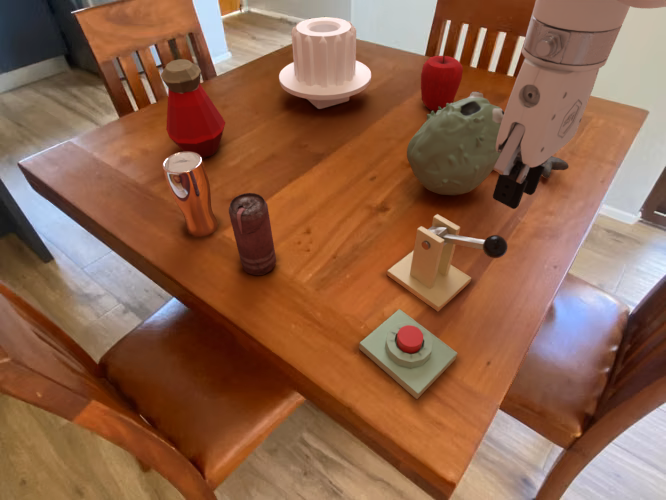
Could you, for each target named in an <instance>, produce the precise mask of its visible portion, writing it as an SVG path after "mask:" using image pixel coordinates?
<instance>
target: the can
mask: <svg viewBox="0 0 666 500" xmlns="http://www.w3.org/2000/svg"><path fill="white" fill-rule="evenodd" d="M228 215H229V220H230V224H231V227H232V231H233V235H234V239H235V243H236V247H237V252H238V256H239V259H240V264H241V267H242V269H243V270H244V272H246V273H248V274H249V275H253V276H263V275H267V274H268V273H269V272H271V271H272V270H273V269H274V267H275V266H276V264H277V257H276V250H275V244H274V238H273V231H272V225H271V219H270V213H269V206H268V203H267V201H266V200H265V199H264V197H263V196H262V195H260V194H258V193H255V192H245V193H241V194H239V195H237V196H234V198H233V199H232V200H231V201H230V203H229V207H228Z"/></svg>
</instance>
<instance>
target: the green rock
mask: <svg viewBox="0 0 666 500" xmlns="http://www.w3.org/2000/svg"><path fill="white" fill-rule="evenodd" d="M438 108H439V110H438V111H436V112H435V111H432V110H430V113H427V114H426V120H425V122H424V123H423V124H421V126H420V128H419V129H418V130H417V131H416V132H415V134H414V135H413V136H412V137H411V139H410V140H409V142H408V144H407V149H406V158H407V161H408V164H409V165H410V169H411V170H412V173H413V175H414V177H415V178H416V179H417V181H418V182H419V183H420V184H421V185H422V186H423V187H424V188H425V189H427V190H428V191H430V192H432V193H434V194H437V195H441V196H459V195H464V194H469V193H470V192H471V191H474V190H475V189H476V188H477V187H479V186H480V185H481V184H482V183H483V182H484V181H485V180H486V179H487V178H488V177H489V176H490V174H491V173H492V172H493V171H494V166H495V164H496V162H497V160H498V158H499V156H500V154H501V153H498V152H497V150H496V141H497V136H498V132H499V129H500V125H501V122H502V119H503V115H504V112H505V110H503V108H502V107H501V106H497V105H494V104H492V103H491V102H490V101H489V99H488V98H485V97H484V93H482V92H480V91H472V92H470V94H469V96H468V97H466V98H462V99H460V100H457V101H453V103H450V104H449V103H447V104H446V107H445V108H443V109H442V108H441V107H438Z"/></svg>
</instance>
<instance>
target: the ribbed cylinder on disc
mask: <svg viewBox="0 0 666 500" xmlns="http://www.w3.org/2000/svg"><path fill="white" fill-rule="evenodd" d="M290 34H291V47H292V57H293V59H292V60H293V62H290V63H289V64H287V65H286V66H284V67H283V68H282V69H281V70H280V72H279V75H278V79H279V80H278V81H279V85H280V86H281V88H282V89H283V90H284V91H285V92H287V93H288V94H290V95H292V96H295V97H297V98H302V99H306V100H307V101H308V102H310V103H311V104H312V105H313V106H314V107H315V108H316V109H318V110H322V109H325V108H329V107H333V106H336V105H339V104H343V103H346V102H349V101H350V97H352V96H356V95H358V94H359V93H361V92H364V90H366V89H367V88H368V87H369V86H370V84H371V83H372V82H371V81H372V72H371V69H370V67H368V66H367V65H366V64H365V63H363V62H361V61H359V60H357V28H356V27H355V26H354V25H353V23H352V22H351V21H350V20H345V19H342V18H340V17H329V16H328V17H325V16H323V17H314V18H308V19H304V20H302V21H297V23H296V25H295V26H293V27H292V29H291V32H290Z"/></svg>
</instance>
